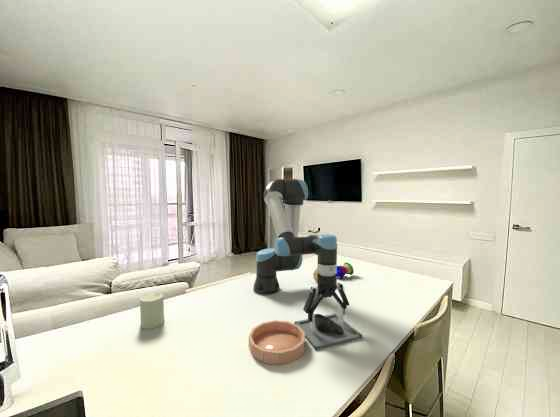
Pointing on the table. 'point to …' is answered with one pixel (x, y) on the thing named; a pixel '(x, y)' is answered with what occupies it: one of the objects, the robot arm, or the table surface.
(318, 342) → the tray
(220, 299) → the table surface
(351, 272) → the toy figure
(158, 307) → the can
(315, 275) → the stone
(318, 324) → the stone
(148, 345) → the table surface
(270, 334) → the bowl
